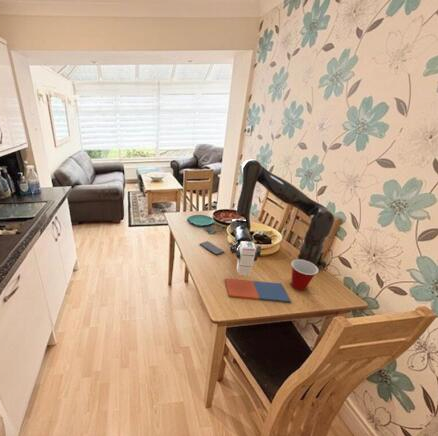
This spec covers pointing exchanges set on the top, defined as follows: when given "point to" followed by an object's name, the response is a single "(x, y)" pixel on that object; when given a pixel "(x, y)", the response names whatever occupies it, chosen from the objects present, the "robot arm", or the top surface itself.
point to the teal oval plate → (203, 222)
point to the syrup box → (246, 258)
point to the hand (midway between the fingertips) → (247, 258)
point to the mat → (257, 290)
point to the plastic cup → (302, 273)
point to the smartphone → (212, 248)
